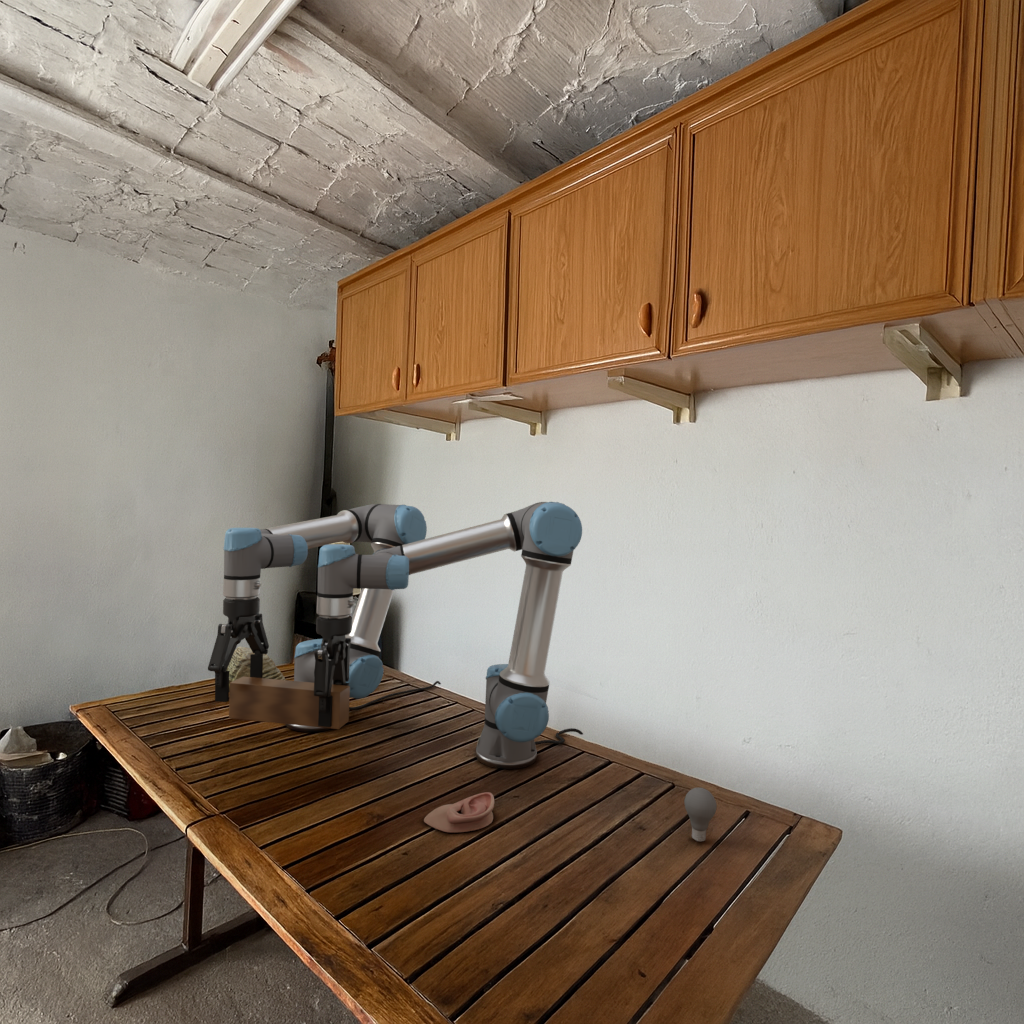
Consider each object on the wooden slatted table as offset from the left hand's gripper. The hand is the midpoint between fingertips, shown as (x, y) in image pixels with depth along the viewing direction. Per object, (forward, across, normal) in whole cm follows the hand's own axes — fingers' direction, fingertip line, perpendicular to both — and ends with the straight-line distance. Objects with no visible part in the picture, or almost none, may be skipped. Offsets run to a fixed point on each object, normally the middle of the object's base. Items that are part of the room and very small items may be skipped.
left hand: (239, 691), depth 142 cm
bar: (+5, 0, -12) cm, 13 cm away
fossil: (+20, +52, +26) cm, 62 cm away
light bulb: (+20, -6, -100) cm, 102 cm away
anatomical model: (+19, -9, -53) cm, 57 cm away
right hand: (+5, -1, -22) cm, 22 cm away
